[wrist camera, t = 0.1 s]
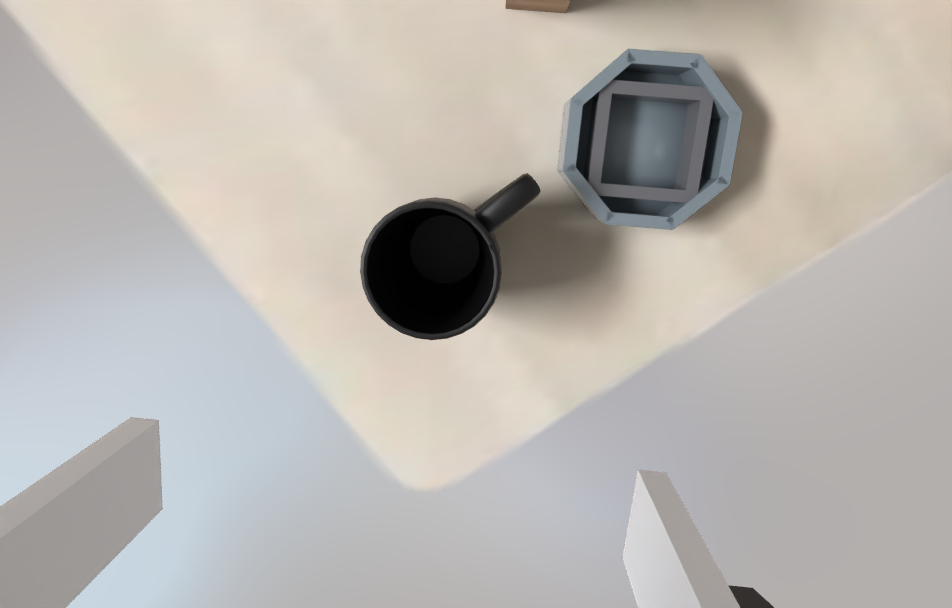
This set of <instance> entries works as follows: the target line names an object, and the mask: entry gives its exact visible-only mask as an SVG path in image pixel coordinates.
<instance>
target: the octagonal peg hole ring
mask: <svg viewBox="0 0 952 608" xmlns="http://www.w3.org/2000/svg"><path fill="white" fill-rule="evenodd" d="M742 114H743V113H742V110H741V109H740V108H739V106H738V105H737V104H736V102H735V101H734V99H733V98H732V97H731V95H730V94H729V93H728V91H727V90H726V88H725V87H724V86H723V84H722V83H721V81H720V80H719V79H718V77H717V76H716V75H715V73H714V72H713V70H712V69H711V68H710V66H709V65H708V64H707V62H706V61H705V59H704V58H703V57H702V55H700V54H689V53H676V52H663V51H651V50H638V49H627V50H626V51H625V52H624V53H623V54H621V55H620V56H619V57H618V58H617V59H616V60H615V61H613V62H612V63H611V64H610V65H609V66H608V67H607V68H605V69H604V70H603V71H602V72H601V73H600V74H599V75H597V76H596V77H595V78H594V79H593V80H592V81H591V82H589V83H588V84H587V85H586V86H585V87H584V88H582V89H581V90H580V91H579V92H578V93H577V94H576V95H574V96H573V97H572V98H571V99H570V100H569V101H568V102H567V103H566V104H565V105H564V114H563V123H562V132H561V142H560V151H559V160H558V169H557V170H559V171H558V172H559V174H560V175H561V176H562V177H563V179H564V180H565V181H566V182H567V184H568V185H569V186H570V187H571V189H572V190H573V191H574V192H575V194H576V195H577V196H578V197H579V199H580V200H581V201H582V202H583V204H584V205H585V206H586V207H587V209H588V210H589V211H590V212H591V214H592V215H593V216H594V217H595V219H597V220H599V221H600V222H602V223H604V224H609V225H621V226H633V227H645V228H657V229H669V230H672V229H674V228H676V227H677V226H678V225H680V224H681V223H682V222H683V221H685V220H686V219H687V218H688V217H690V216H691V215H692V214H694V213H695V212H696V211H697V210H699V209H700V208H701V207H702V206H704V205H705V204H706V203H707V202H709V201H710V200H711V199H713V198H714V197H715V196H716V195H718V194H719V193H720V192H721V191H723V190H724V189H725V188H727V187H728V186H729V184H730V181H731V175H732V170H733V164H734V159H735V153H736V148H737V142H738V136H739V131H740V125H741V120H742Z"/></svg>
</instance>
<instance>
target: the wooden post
mask: <svg viewBox="0 0 952 608" xmlns="http://www.w3.org/2000/svg"><path fill="white" fill-rule="evenodd" d="M570 2H571V0H506V9H519V10H532V11H545V12H558V13H566V11H567V9H568V6H569V4H570Z"/></svg>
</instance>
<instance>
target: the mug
mask: <svg viewBox="0 0 952 608" xmlns="http://www.w3.org/2000/svg"><path fill="white" fill-rule="evenodd" d="M539 193H540V188H539V186H538V184H537V183H536V181H535V180H534V179H533V178H532V176H530V175H529V174H528V173H527V174H523V175H522V176H520V177H519V178H517V179H516V180H514V181H513V182H512V183H510V184H509V185H507V186H506V187H505V188H503V189H502V190H500V191H499V192H498V193H496V194H495V195H494V196H492V197H491V198H489V199H488V200H487V201H485V202H484V203H483V204H481V205H480V206H479V207H477V208H476V209H475V210H474V211H473V210H472V209H470V208H469V207H467V206H466V205H464V204H461V203H459V202H456V201H453V200H450V199H443V198H427V199H420V200H416V201H414V202H411V203H408V204H405V205H403V206H400V207H398V208H396V209H395V210H393V211H392V212H390V213H389V214H387V215H385V216H384V217H383V218H382V219H381V220H380V221H379V222H378V224H377V225H376V226H375V227H374V228H373V230H372V231H371V233H370V235H369V237H368V238H367V240H366V242H365V246H364V249H363V252H362V255H361V268H360V273H361V279H362V285H363V289H364V291H365V294H366V296H367V299H368V301H369V303H370V304H371V306H372V307H373V309H374V310H375V312H376V313H377V314H378V315H379V316H380V317H381V318H382V319H383V320H384V321H385V322H386V323H387V324H388V325H389V326H391V327H393V328H394V329H396V330H398V331H399V332H401V333H403V334H406V335H409V336H412V337H415V338H420V339H428V340H437V339H447V338H450V337H453V336H456V335H459V334H462V333H464V332H465V331H467V330H469V329H470V328H472V327H474V326H475V325H476V324H477V323H478V322H479V321H480V320H482V319H483V318H484V317H485V316H486V314H487V313H488V311H489V310H490V308H491V307H492V305H493V304H494V302H495V299H496V296H497V294H498V291H499V288H500V281H501V273H502V271H501V259H500V249H499V247H498V244H497V241H496V238H495V235H494V234H493V232H492V231H494V230H495V229H496V228H497V227H499V226H500V225H501V224H503V223H504V222H505V221H507V220H508V219H509V218H510V217H512V216H513V215H514V214H515V213H517V212H518V211H519V210H521V209H522V208H523V207H524V206H526V205H527V204H528V203H529V202H531V201H532V200H533V199H534V198H536V197H537V196H538V195H539Z"/></svg>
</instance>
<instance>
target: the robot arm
mask: <svg viewBox="0 0 952 608" xmlns="http://www.w3.org/2000/svg"><path fill="white" fill-rule="evenodd" d="M161 510H162V487H161V463H160V438H159V420H152V419H142V418H133V417H131V418H130V419H128V420H126V421H125V422H124V423H122V424H121V425H119V426H118V427H116V428H115V429H113V430H112V431H110V432H109V433H108V434H106V435H104V436H103V437H102V438H100V439H99V440H97V441H96V442H94V443H93V444H91V445H90V446H88V447H87V448H85V449H84V450H83V451H81V452H80V453H78V454H77V455H75V456H74V457H72V458H71V459H69V460H68V461H66V462H65V463H63V464H62V465H61V466H60V467H58V468H56V469H55V470H53V471H52V472H50V473H49V474H48V475H46V476H44V477H43V478H42V479H40V480H39V481H37V482H36V483H34V484H33V485H31V486H30V487H28V488H27V489H26V490H24V491H23V492H21V493H20V494H18V495H17V496H15V497H14V498H12V499H11V500H9V501H8V502H6V503H5V504H4V505H2V506H1V507H0V608H66V607H67V606H68V605H69V604H70V603H71V602H72V601H73V600H74V599H75V598H76V597H77V596H78V595H79V594H80V593H81V592H82V591H83V589H85V588H86V586H87V585H88V584H89V583H90V582H91V581H92V580H93V579H94V578H95V577H96V576H97V575H98V574H99V573H100V572H101V571H102V570H103V569H104V568H105V567H106V566H107V565H108V564H109V563H110V562H111V561H112V560H113V559H114V558H115V557H116V556H117V555H118V554H119V553H120V552H121V551H122V550H123V549H124V548H125V547H126V546H127V544H129V543H130V542H131V541H132V540H133V539H134V538H135V537H136V536H137V534H138V533H139V532H140V531H141V530H142V529H143V528H144V527H145V526H146V525H147V524H148V523H149V522H150V521H151V520H152V519H153V518H154V517H155V516H156V515H157V514H158V513H159V512H160V511H161ZM622 558H623V561H624V564H625V568H626V571H627V574H628V577H629V580H630V583H631V587H632V590H633V593H634V596H635V599H636V602H637V605H638V608H774V607H773V606H772V605H771V604H770V603H769V602H768V601H766V600H765V599H764V598H763V597H762V596H761V595H760V594H759V593H758V592H757V591H755V590H754V589H753V588H748V587H738V586H728V584H727V582H726V581H725V579H724V577H723V575H722V573H721V571H720V570H719V568H718V566H717V564H716V562H715V561H714V559H713V557H712V555H711V553H710V552H709V550H708V548H707V546H706V544H705V542H704V540H703V539H702V537H701V535H700V533H699V531H698V529H697V528H696V526H695V524H694V522H693V521H692V519H691V517H690V515H689V513H688V511H687V510H686V508H685V506H684V504H683V502H682V500H681V498H680V497H679V495H678V493H677V491H676V490H675V488H674V486H673V484H672V482H671V480H670V478H669V477H668V475H667V473H663V472H655V471H645V470H638V473H637V478H636V484H635V490H634V495H633V501H632V507H631V512H630V518H629V524H628V529H627V535H626V540H625V546H624V552H623V557H622Z"/></svg>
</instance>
